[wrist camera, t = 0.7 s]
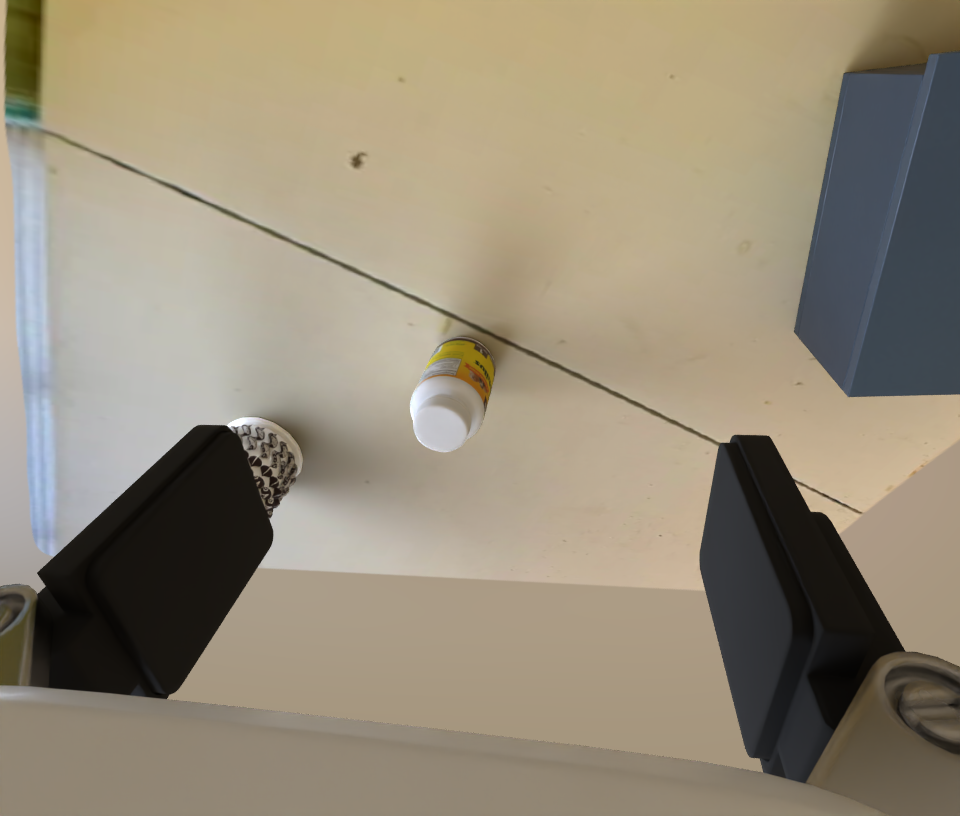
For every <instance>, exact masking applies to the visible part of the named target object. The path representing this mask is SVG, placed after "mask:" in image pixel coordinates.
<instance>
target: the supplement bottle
mask: <svg viewBox="0 0 960 816" xmlns="http://www.w3.org/2000/svg"><path fill="white" fill-rule="evenodd" d="M494 376H495V363H494V359H493V357H492V355H491V353H490V352H489V350H488V349H487V348H486V347H485V346H484V345H483V344H481V343H480V342H478V341H476V340H474V339H471V338H467V337H455V338H451V339H448V340H446V341H444V342H443V343H441V344H440V345H439V346H438V347H437V348H436V350H435V351H434V353H433V355H432V357H431V359H430V361H429V363H428V365H427V367H426V368H425V371H424V373H423V375H422V377H421V379H420V381H419V383H418V385H417V387H416V389H415V391H414V393H413V395H412V398H411V402H410V411H411V416H412V419H413V430H414V433H415V435H416V437H417V439H418V440H419V441H420V442H421V443H422V444H423V445H424V446H426V447H427V448H429V449H431V450H434V451H438V452H450V451H454V450H456V449H458V448H459V447H461V446H462V445H463V444H464V443H465V441H466V440H467V439H469V438H471V437H472V436H473V435H474V434H476V433H477V431H478V430H479V429H480V427H481V425H482V423H483V420H484V416H485V412H486V408H487V404H488V400H489V396H490V393H491V388H492V384H493V381H494Z"/></svg>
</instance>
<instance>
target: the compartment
mask: <svg viewBox="0 0 960 816" xmlns="http://www.w3.org/2000/svg"><path fill="white" fill-rule="evenodd" d="M926 66H927V63H922V64H914V65H906V66H897V67H889V68H881V69H872V70H864V71H856V72H848V73H844V75H843V81H842V86H841V91H840V96H839V101H838V107H837V112H836V117H835V122H834V127H833V132H832V138H831V143H830V148H829V153H828V158H827V164H826V169H825V174H824V179H823V184H822V190H821V195H820V200H819V205H818V210H817V215H816V221H815V226H814V231H813V236H812V241H811V247H810V252H809V257H808V262H807V267H806V272H805V278H804V283H803V288H802V293H801V298H800V304H799V309H798V314H797V319H796V324H795V330H794V332H795V334H796V335H797V336H798V338H799V339H800V340H801V341H802V342H803V344H804V345H805V346H806V347H807V348H808V350H809V351H810V352H811V353H812V354H813V356H814V357H815V358H816V359H817V360H818V362H819V363H820V364H821V365H822V366H823V368H824V369H825V370H826V371H827V372H828V374H829V375H830V376H831V377H832V378H833V380H834V381H835V382H836V383H837V384H838V386H839V387H840V388H841V389H842V390H843V389H844V385H845V381H846V377H847V373H848V369H849V365H850V361H851V357H852V354H853V350H854V346H855V342H856V338H857V334H858V330H859V326H860V322H861V319H862V315H863V311H864V307H865V303H866V299H867V295H868V291H869V287H870V284H871V280H872V276H873V272H874V268H875V264H876V260H877V256H878V252H879V249H880V245H881V241H882V237H883V233H884V229H885V225H886V221H887V217H888V214H889V210H890V206H891V202H892V198H893V194H894V190H895V186H896V182H897V179H898V175H899V171H900V167H901V163H902V159H903V155H904V151H905V147H906V144H907V140H908V136H909V132H910V128H911V124H912V120H913V116H914V112H915V109H916V105H917V101H918V97H919V93H920V89H921V85H922V81H923V77H924V74H925V70H926Z"/></svg>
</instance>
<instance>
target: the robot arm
mask: <svg viewBox="0 0 960 816" xmlns="http://www.w3.org/2000/svg"><path fill="white" fill-rule="evenodd" d="M272 541H273V529H272V526H271V523H270V520H269V517H268V515H267V512H266V509H265V506H264V503H263V501H262V498H261V495H260V492H259V489H258V487H257V484H256V481H255V478H254V475H253V473H252V470H251V467H250V464H249V461H248V459H247V456H246V453H245V450H244V447H243V445H242V442H241V439H240V437H239V436H238V435H237V434H236V433H233V431H232V430H231V429H230V428H229V427H228V426H225V425H198V426H196V427H194V428H193V429H192V430H191V431H190V432H188V433H187V434H186V435H185V436H184V437H183V438H182V439H181V440H180V441H179V442H178V443H177V444H176V445H174V446H173V447H172V448H171V449H170V450H169V451H168V452H167V453H166V454H165V455H164V456H163V457H162V458H160V459H159V460H158V461H157V462H156V463H155V464H154V465H153V466H152V467H151V468H150V469H149V470H147V471H146V472H145V473H144V474H143V475H142V476H141V477H140V478H139V479H138V480H137V481H136V482H135V483H133V484H132V485H131V486H130V487H129V488H128V489H127V490H126V491H125V492H124V493H123V494H122V495H121V496H119V497H118V498H117V499H116V500H115V501H114V502H113V503H112V504H111V505H110V506H109V507H108V508H107V509H105V510H104V511H103V512H102V513H101V514H100V515H99V516H98V517H97V518H96V519H95V520H94V521H92V522H91V523H90V524H89V525H88V526H87V527H86V528H85V529H84V530H83V531H82V532H81V533H80V534H78V535H77V536H76V537H75V538H74V539H73V540H72V541H71V542H70V543H69V544H68V545H67V546H66V547H64V548H63V549H62V550H61V551H60V552H59V553H58V554H57V555H56V556H55V557H54V558H53V559H51V560H50V561H49V562H48V563H47V564H46V565H45V566H44V567H43V568H42V569H41V570H40V571H39V572H38V573H37V574H38V575H39V577H40V578H41V580H42V581H43V583H44V584H45V585H46V587H45V588H44V589H42V591H41V592H40V593H38V594H37V593H36V591H35V590H34V589H32V588H31V587H30V586H28V585H21V584H12V585H4V586H1V587H0V816H960V667H959V666H957V665H954V664H952V663H950V662H947V661H945V660H943V659H940V658H938V657H935V656H930V655H926V654H922V653H918V652H905V650H904V648H903V647H902V645H901V643H900V641H899V639H898V638H897V636H896V634H895V632H894V631H893V629H892V627H891V625H890V624H889V622H888V621H887V618H886V617H885V615H884V613H883V611H882V610H881V608H880V606H879V604H878V603H877V601H876V599H875V597H874V596H873V594H872V592H871V590H870V589H869V587H868V585H867V583H866V582H865V580H864V578H863V576H862V575H861V573H860V571H859V569H858V568H857V566H856V564H855V562H854V561H853V559H852V557H851V555H850V554H849V552H848V550H847V548H846V547H845V545H844V543H843V542H842V540H841V538H840V536H839V534H838V533H837V531H836V529H835V527H834V526H833V524H832V522H831V521H830V520H829V518H828V517H827V516H826V515H825V514H823V513H821V512H810V510H809V508H808V506H807V504H806V502H805V500H804V499H803V497H802V495H801V493H800V491H799V489H798V487H797V486H796V484H795V482H794V480H793V478H792V476H791V474H790V473H789V471H788V469H787V467H786V465H785V463H784V461H783V459H782V458H781V456H780V454H779V452H778V450H777V448H776V446H775V445H774V443H773V441H772V439H771V438H770V437H769V436H763V435H734V436H732V438H731V440H730V443H721V444H720V446H719V449H718V453H717V459H716V465H715V470H714V476H713V481H712V487H711V493H710V498H709V504H708V509H707V515H706V521H705V526H704V532H703V537H702V543H701V549H700V570H701V575H702V579H703V583H704V587H705V591H706V595H707V598H708V603H709V607H710V611H711V614H712V618H713V622H714V626H715V630H716V634H717V638H718V642H719V646H720V650H721V654H722V658H723V662H724V666H725V670H726V674H727V678H728V682H729V686H730V690H731V694H732V698H733V702H734V706H735V709H736V714H737V718H738V722H739V726H740V730H741V734H742V738H743V741H744V745H745V749H746V751H747V754H748V755H749V757H751V758H760V761H761V765H762V769H763V772H764V773H762V772H756V771H750V770H745V769H739V768H734V767H729V766H723V765H717V764H712V763H707V762H701V761H693V760H686V759H679V758H671V757H664V756H656V755H649V754H641V753H634V752H625V751H619V750H611V749H603V748H596V747H589V746H581V745H571V744H563V743H555V742H546V741H538V740H528V739H520V738H512V737H503V736H495V735H486V734H477V733H469V732H460V731H451V730H442V729H434V728H426V727H417V726H408V725H399V724H389V723H381V722H372V721H363V720H354V719H345V718H335V717H327V716H318V715H309V714H300V713H291V712H281V711H272V710H263V709H254V708H245V707H235V706H226V705H216V704H206V703H197V702H187V701H178V700H169V699H167V698H168V696H169V695H170V694H172V693H174V692H176V691H177V690H178V689H179V688H180V686H181V685H182V683H183V682H184V681H185V679H186V678H187V676H188V674H189V673H190V671H191V670H192V668H193V667H194V665H195V663H196V662H197V660H198V659H199V657H200V656H201V654H202V653H203V651H204V650H205V648H206V646H207V645H208V643H209V642H210V640H211V639H212V637H213V636H214V634H215V632H216V631H217V629H218V628H219V626H220V625H221V623H222V622H223V620H224V618H225V617H226V615H227V614H228V612H229V611H230V609H231V608H232V606H233V605H234V603H235V601H236V600H237V598H238V597H239V595H240V594H241V592H242V590H243V589H244V587H245V586H246V584H247V583H248V581H249V580H250V578H251V577H252V575H253V573H254V572H255V570H256V569H257V567H258V566H259V564H260V563H261V561H262V560H263V558H264V556H265V555H266V553H267V552H268V550H269V549H270V547H271V545H272Z"/></svg>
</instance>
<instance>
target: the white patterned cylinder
mask: <svg viewBox="0 0 960 816" xmlns="http://www.w3.org/2000/svg"><path fill="white" fill-rule="evenodd" d="M228 427H229V428H230V429H231V430H232V431H233V433H236V434H237V435H238V436H239V437H240V439H241V442H242V445H243V447H244V450H245V453H246V456H247V459H248V461H249V464H250V467H251V470H252V473H253V475H254V478H255V481H256V484H257V487H258V489H259V492H260V495H261V498H262V501H263V503H264V506H265V509H266V512H267V515H268V517H269V519H270V518H271V517H272V512H273V508H276V507H278V506H279V504H280V501H281V500H282V498H283V497H284V496H285V495H287V493H288V492H289V487H290V486H292V485H293V484H294V483H295V481H296V477H297V476H298V474H299V473H300V472H301V469H302V463H303V457H302V454H301V451H300V448H299V445H298V444H297V442H296V441H295V440H294V439H293V437H292V436H291V435H290V434H289V432H287V431H286V430H284V429H283V428H281V427H280V426H278V425H277V424H276V423H274V422H271V421H268V420H265V419H262V418H259V417H242V418H240V419H237V420H235V421H233V422H231V423H230V424H229V425H228Z"/></svg>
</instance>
